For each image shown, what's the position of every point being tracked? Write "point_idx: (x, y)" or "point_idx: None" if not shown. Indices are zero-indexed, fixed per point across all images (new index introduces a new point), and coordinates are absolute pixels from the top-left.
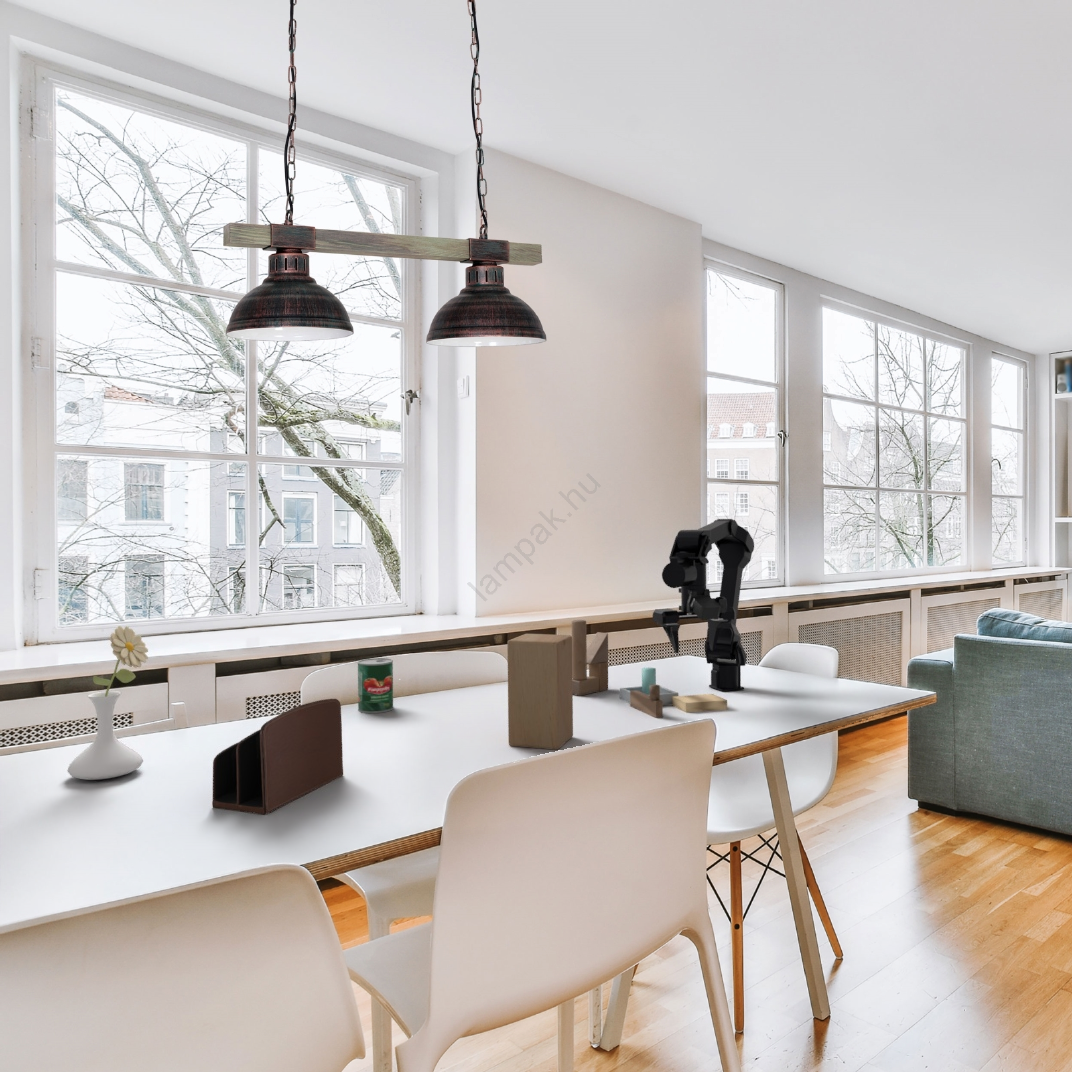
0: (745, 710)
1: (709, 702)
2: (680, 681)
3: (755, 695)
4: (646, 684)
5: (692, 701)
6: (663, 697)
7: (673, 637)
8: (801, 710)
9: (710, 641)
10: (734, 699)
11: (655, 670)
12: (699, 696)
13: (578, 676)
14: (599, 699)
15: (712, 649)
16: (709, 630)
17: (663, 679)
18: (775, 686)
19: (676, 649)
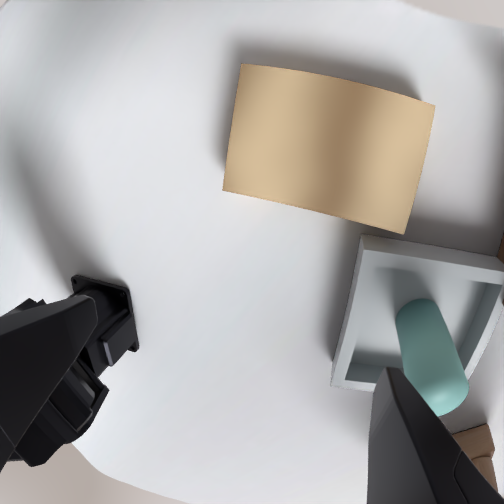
0: (204, 34)
1: (325, 75)
2: (175, 419)
3: (74, 208)
4: (452, 341)
5: (394, 109)
6: (428, 254)
7: (475, 472)
8: (78, 7)
9: (62, 355)
10: (143, 191)
11: (425, 376)
12: (303, 175)
13: (491, 463)
14: (488, 387)
15: (90, 301)
16: (18, 421)
17: (202, 446)
18: (20, 263)
19: (411, 386)
